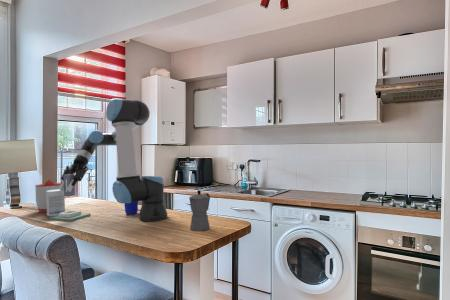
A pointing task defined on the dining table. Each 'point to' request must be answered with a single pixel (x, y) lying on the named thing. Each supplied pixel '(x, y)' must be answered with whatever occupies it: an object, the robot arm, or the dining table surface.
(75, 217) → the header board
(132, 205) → the mug
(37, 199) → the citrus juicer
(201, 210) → the coffeepot
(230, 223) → the dining table surface
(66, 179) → the dark grey block
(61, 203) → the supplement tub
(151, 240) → the dining table surface
